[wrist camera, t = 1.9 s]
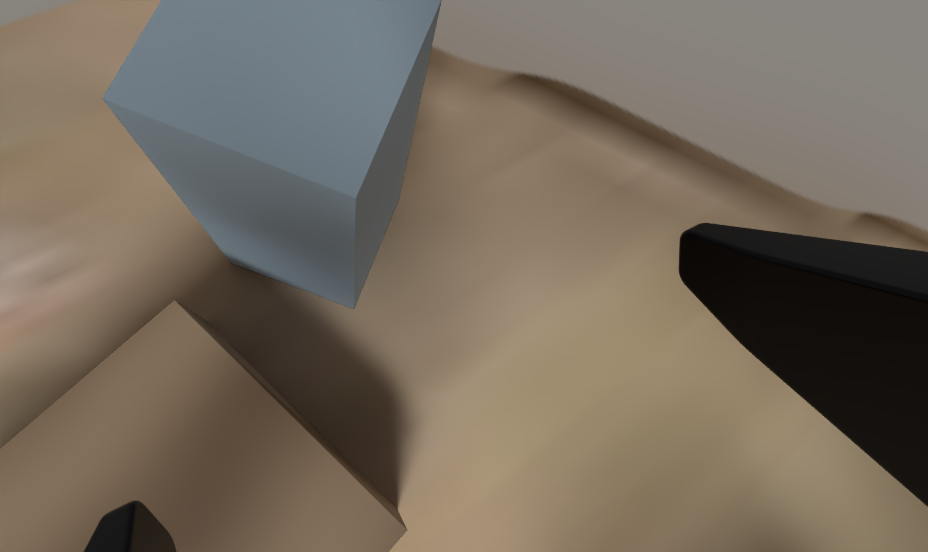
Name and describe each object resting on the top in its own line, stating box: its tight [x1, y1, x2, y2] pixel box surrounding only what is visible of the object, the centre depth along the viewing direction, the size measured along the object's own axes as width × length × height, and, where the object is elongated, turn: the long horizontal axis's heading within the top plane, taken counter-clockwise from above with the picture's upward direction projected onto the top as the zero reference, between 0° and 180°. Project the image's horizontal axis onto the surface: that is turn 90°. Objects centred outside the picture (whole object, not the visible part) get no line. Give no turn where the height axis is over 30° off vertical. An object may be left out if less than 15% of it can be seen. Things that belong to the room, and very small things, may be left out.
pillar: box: [102, 0, 441, 309], centre depth 16 cm, size 4×4×11 cm
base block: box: [0, 300, 407, 552], centre depth 17 cm, size 9×9×4 cm
